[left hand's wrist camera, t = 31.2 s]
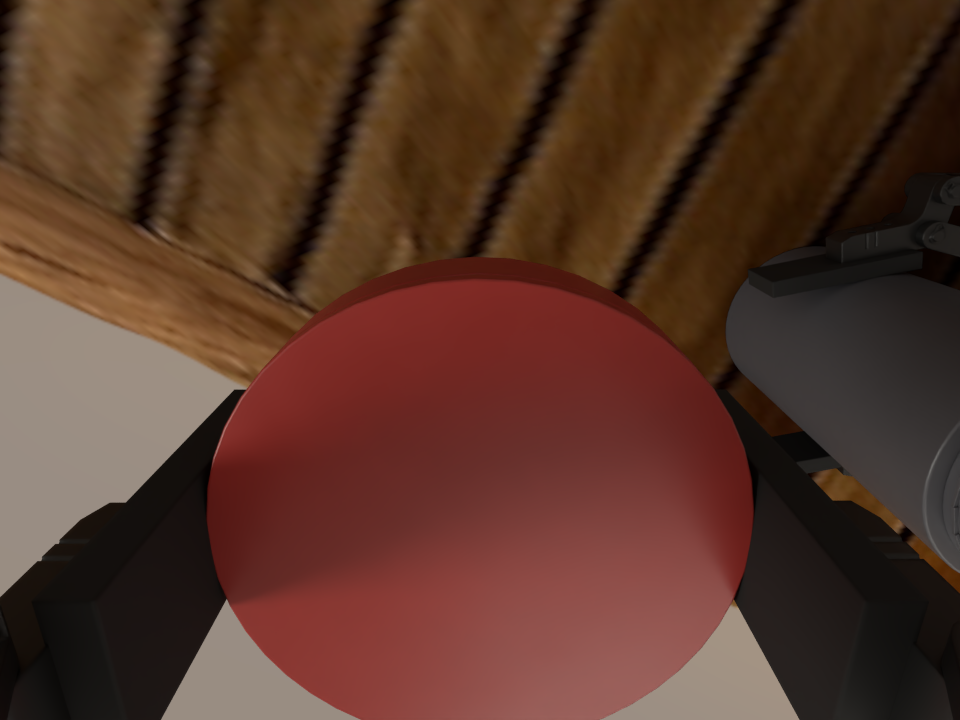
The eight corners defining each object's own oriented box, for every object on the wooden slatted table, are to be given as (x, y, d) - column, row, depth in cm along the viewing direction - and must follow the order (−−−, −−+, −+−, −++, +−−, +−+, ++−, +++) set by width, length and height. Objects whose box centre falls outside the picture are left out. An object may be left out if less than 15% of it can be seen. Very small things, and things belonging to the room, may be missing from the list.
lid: (238, 226, 10) (193, 244, 9) (774, 287, 11) (827, 315, 9) (247, 651, 14) (214, 722, 12) (660, 687, 14) (685, 761, 12)
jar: (848, 216, 34) (1251, 310, 16) (898, 345, 36) (1292, 550, 19) (701, 295, 35) (920, 462, 18) (759, 414, 38) (1000, 663, 20)
